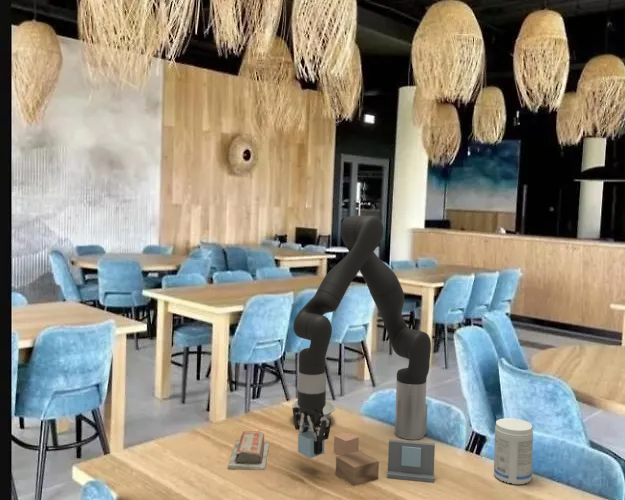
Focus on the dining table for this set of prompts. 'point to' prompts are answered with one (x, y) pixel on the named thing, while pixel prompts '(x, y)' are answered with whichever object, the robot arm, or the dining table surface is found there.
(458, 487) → the dining table surface
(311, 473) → the dining table surface
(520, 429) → the supplement tub
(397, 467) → the display stand
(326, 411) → the dish
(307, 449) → the blue block
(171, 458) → the dining table surface
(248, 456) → the packaged product
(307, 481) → the dining table surface
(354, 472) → the walnut block
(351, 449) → the terracotta block
